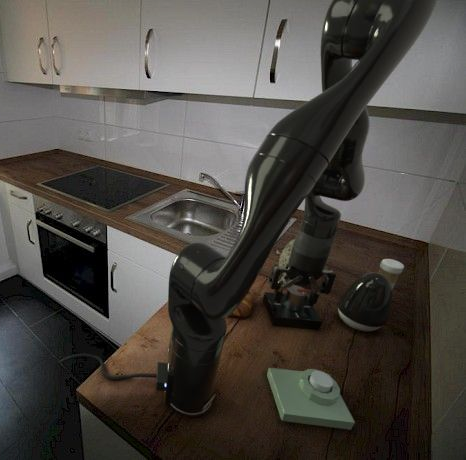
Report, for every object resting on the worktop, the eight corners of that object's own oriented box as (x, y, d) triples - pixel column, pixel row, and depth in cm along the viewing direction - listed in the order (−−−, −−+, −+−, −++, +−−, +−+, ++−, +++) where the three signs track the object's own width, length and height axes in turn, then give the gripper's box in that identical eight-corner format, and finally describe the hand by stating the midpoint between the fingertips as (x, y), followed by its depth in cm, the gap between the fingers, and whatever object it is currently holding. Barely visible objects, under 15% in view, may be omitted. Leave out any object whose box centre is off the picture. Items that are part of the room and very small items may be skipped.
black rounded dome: (327, 323, 80) (347, 274, 73) (339, 304, 87) (358, 257, 80) (376, 345, 74) (403, 294, 67) (384, 323, 80) (409, 274, 73)
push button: (313, 391, 59) (316, 385, 59) (306, 375, 63) (308, 369, 62) (333, 394, 59) (336, 388, 58) (325, 377, 62) (327, 371, 61)
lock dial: (285, 310, 80) (291, 294, 78) (280, 299, 84) (285, 283, 82) (304, 312, 80) (310, 295, 77) (297, 300, 83) (303, 284, 81)
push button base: (281, 421, 58) (286, 407, 56) (266, 374, 67) (270, 361, 65) (351, 430, 57) (359, 416, 55) (326, 381, 65) (332, 368, 64)
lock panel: (272, 326, 79) (275, 316, 78) (262, 300, 88) (264, 291, 87) (319, 330, 78) (322, 321, 77) (303, 303, 87) (307, 294, 85)
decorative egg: (277, 265, 104) (289, 225, 97) (318, 277, 98) (333, 235, 91) (271, 284, 95) (284, 241, 88) (316, 297, 89) (332, 252, 82)
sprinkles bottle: (362, 296, 90) (380, 256, 84) (381, 300, 88) (401, 260, 82) (366, 306, 86) (385, 265, 80) (386, 310, 85) (407, 269, 78)
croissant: (227, 286, 94) (229, 276, 92) (262, 304, 87) (265, 294, 85) (204, 304, 87) (205, 293, 85) (240, 326, 79) (243, 314, 78)
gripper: (284, 254, 71) (268, 309, 79) (352, 259, 70) (329, 315, 77) (274, 238, 78) (260, 291, 85) (336, 242, 76) (316, 295, 84)
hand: (293, 302), depth 81 cm, fingers open, 7 cm apart
